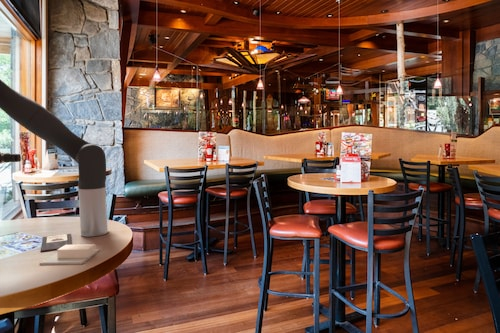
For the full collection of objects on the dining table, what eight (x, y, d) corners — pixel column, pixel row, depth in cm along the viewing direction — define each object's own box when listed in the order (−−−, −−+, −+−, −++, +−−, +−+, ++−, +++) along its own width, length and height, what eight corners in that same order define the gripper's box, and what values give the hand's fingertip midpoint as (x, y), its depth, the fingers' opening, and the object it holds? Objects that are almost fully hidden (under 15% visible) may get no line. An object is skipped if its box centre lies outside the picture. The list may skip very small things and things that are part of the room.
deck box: (65, 244, 111) (95, 244, 111) (66, 252, 111) (95, 252, 111) (56, 249, 106) (87, 249, 106) (57, 258, 106) (88, 257, 106)
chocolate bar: (40, 250, 114) (42, 237, 130) (40, 253, 115) (43, 239, 130) (72, 246, 119) (70, 233, 134) (72, 249, 119) (71, 236, 135)
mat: (61, 251, 115) (61, 249, 115) (99, 250, 115) (99, 249, 115) (39, 264, 103) (39, 262, 103) (82, 264, 103) (81, 262, 103)
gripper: (-61, 146, 100) (3, 145, 100) (-24, 145, 113) (32, 144, 113) (-58, 173, 100) (5, 173, 100) (-23, 169, 113) (33, 168, 113)
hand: (19, 157), depth 107 cm, fingers closed
